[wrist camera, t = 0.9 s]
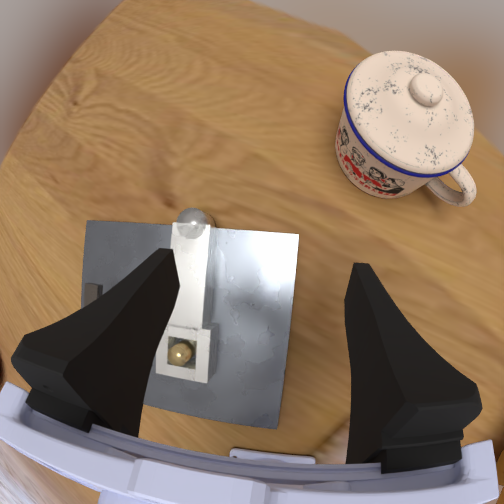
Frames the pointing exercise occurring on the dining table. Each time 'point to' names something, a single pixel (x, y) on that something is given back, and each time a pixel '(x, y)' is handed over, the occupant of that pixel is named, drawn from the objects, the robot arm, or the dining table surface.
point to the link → (192, 297)
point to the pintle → (182, 352)
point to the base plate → (216, 317)
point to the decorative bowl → (500, 476)
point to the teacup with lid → (405, 128)
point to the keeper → (92, 292)
